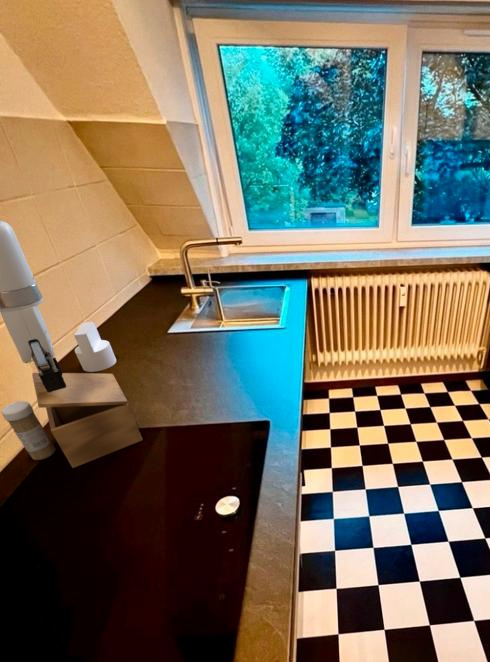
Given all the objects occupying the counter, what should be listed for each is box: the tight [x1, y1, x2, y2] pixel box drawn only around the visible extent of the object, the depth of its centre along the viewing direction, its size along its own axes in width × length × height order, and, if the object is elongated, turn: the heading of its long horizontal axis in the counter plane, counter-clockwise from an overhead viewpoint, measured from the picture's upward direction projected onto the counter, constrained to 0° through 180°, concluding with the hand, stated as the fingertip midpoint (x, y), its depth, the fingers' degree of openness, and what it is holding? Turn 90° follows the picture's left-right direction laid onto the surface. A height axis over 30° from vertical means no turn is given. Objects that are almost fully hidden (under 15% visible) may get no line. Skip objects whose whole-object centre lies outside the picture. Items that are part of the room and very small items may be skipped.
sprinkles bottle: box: [0, 400, 57, 461], centre depth 80 cm, size 5×5×13 cm
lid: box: [31, 372, 128, 409], centre depth 80 cm, size 14×15×5 cm
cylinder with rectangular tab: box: [73, 321, 117, 373], centre depth 114 cm, size 9×9×12 cm
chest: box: [45, 403, 144, 469], centre depth 86 cm, size 14×15×11 cm
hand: (55, 382), depth 78 cm, fingers closed on lid, 5 cm apart
